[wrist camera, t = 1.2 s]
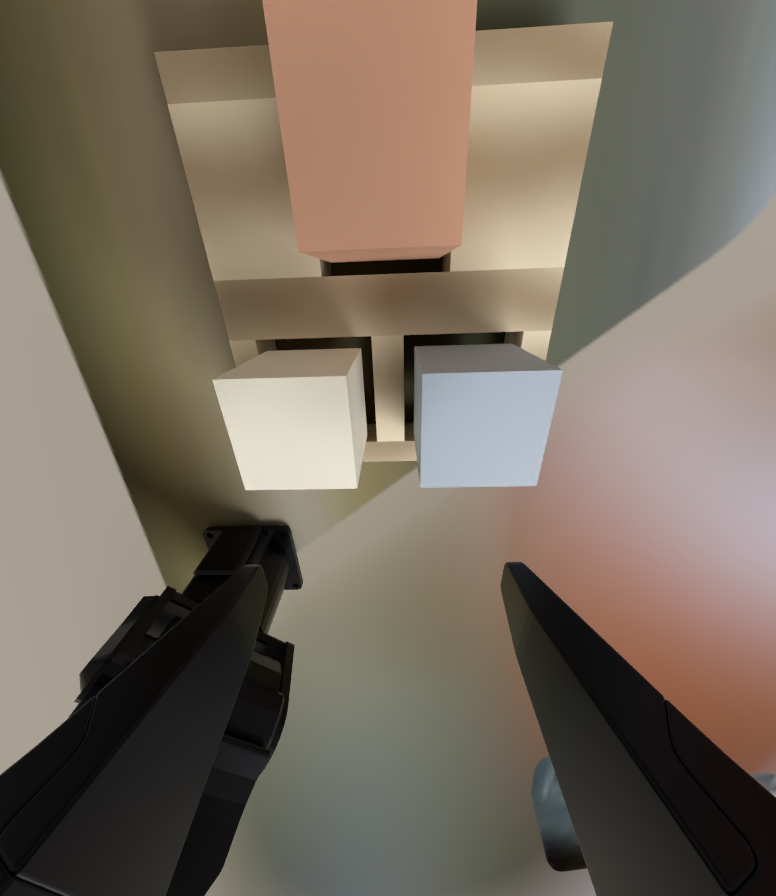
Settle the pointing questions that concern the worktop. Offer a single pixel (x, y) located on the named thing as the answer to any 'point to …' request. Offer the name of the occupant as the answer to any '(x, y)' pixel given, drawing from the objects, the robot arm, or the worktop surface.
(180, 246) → the worktop surface
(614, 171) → the worktop surface
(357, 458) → the cream button
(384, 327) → the panel
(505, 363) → the slate-blue button
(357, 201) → the salmon pink block
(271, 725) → the robot arm
